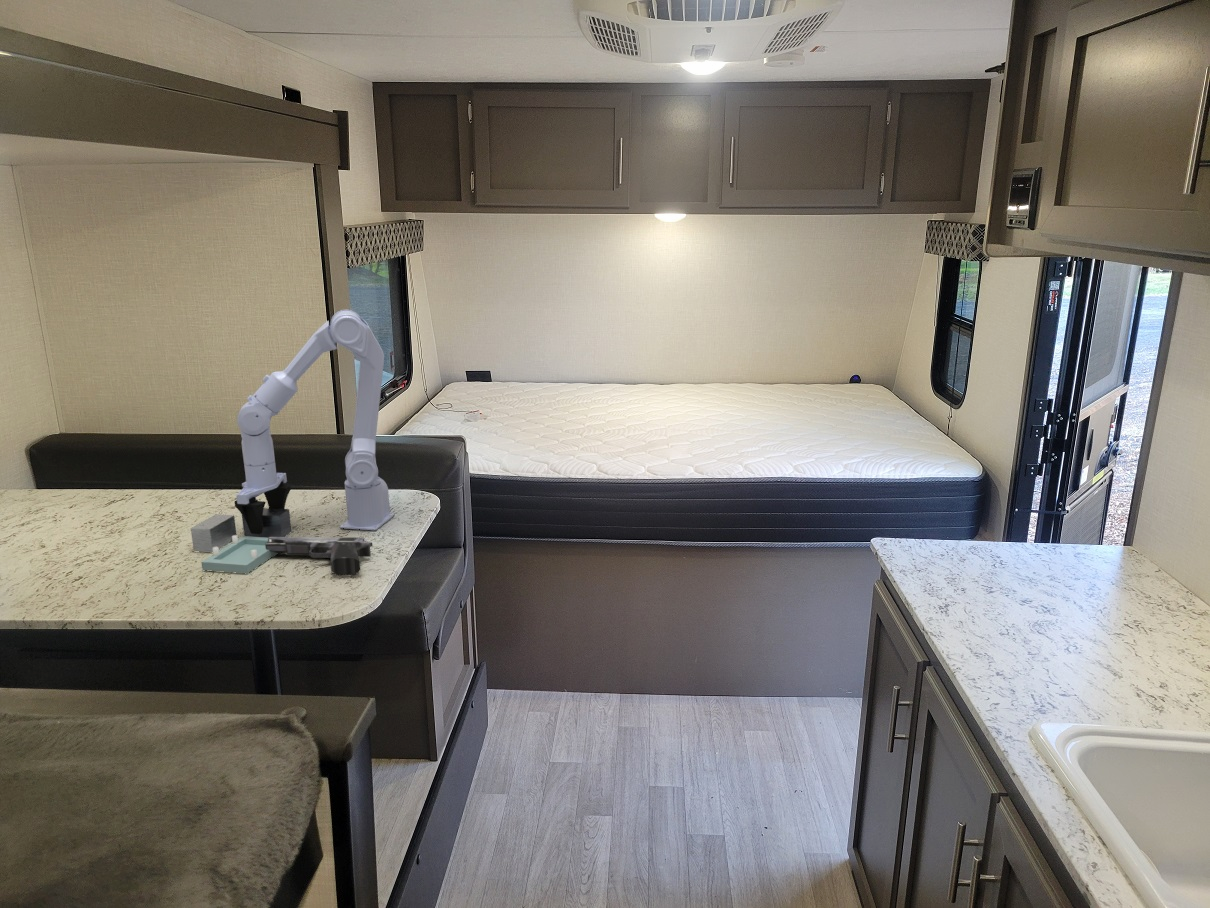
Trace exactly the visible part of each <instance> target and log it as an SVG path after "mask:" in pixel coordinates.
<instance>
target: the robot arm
mask: <svg viewBox="0 0 1210 908" xmlns="http://www.w3.org/2000/svg"><path fill="white" fill-rule="evenodd" d="M338 345H339V346H341V347H343V348H344V349H346V350H348V351H349V352H351V354H352V355H353V356H354V357H355V358H356V359H357V360H358V361H359V370H358V371H359V372H358V381H357V389H356V400H355V410H354V419H353V430H352V437H351V438H352V439H351V442H350V443H351V444H350V449H349V451H347V454H346V455H345V458H344V465H345V476H346V479H345V481H344V491H345V492H344V493H345V502H346V513H347V514H346V515H347V520H346V521H345V522H344V523H343V524H341V525H340V526H339V528H340V529H343V528H344V529H345V530H359V529H360V530H361V531H378V529H379V528H381V527H382V526H383V525H385V523H387V522H388V521H390V520H391V519H392V518H393V517H394V516H395V513H393V512H391V509H390V496H389V495H390V494H389V487H388V485H387V483H386V481H385V480H384V479H383V478H381V477H380V476H379V469H378V466H377V458H376V441H377V440H376V438H377V431H378V430H377V429H378V419H379V413H380V412H379V411H380V403H381V391H382V385H383V383H382V382H383V376H384V375H383V374H384V365H385V364H384V363H385V353H384V351H383V349H382V347H381V345H380V343H379V341H378V340H377V338H376V337H375V335H374V333H373V331H372V329H371V327H370V326H369V324H368V322H367V321H366V320H365V319H364V318H363V317H362V316H360V315H359V314H358V313H357V312H355V311H353V310H351V309H341V310H338V311H337V312H335V313H334V314H333V315H332V317H331V318H330V322H329V320H327V321H326V322H324V323H323V324H322V325H321V326H320V327H319V328H318V329H317V330H315V332H314V333H313V334H312V335H311V337H310V338H309V339H308V340H307V342H305V344H303V346H302V347H301V349H300V350H299V351H298V353H297V354H296V355H295V356H294V357H293V359H291V361H290V363H289V364H288V365H287V366H286V367H285V368H284V370H280V371H274V372H273V371H272V373H271V374H270V375H269V374H266V375H264V376H263V378H262V381H263V383H262V384H261V386H259V387H258V389H257V390H256V391H255V392H254V393H253V395H252V394H249V395H248V397H247V401H248V402H246V403H244V404H243V405H242V406H241V407H240V410H239V412H238V414H237V417H236V418H237V426H238V428H239V430H240V437H241V450H242V458H243V464H244V465H243V466H244V472H245V473H244V474H245V481H244V482H242V483H241V487H242V489H241V490H240V491H239V492H238V493H236V494H235V495H236V496H235V497H236V499H235V500H234V507H235V508H236V509H237V510H238V511H239V513H240V514H241V516H242V515H243V517H244V519H245V521H246V523H247V525H248V527H249V530H250V532H251V534H261V533H262V530H263V521H262V517H263V509H264V508H265V505H266V503H267V506H268V508H272V509H286V501H287V499H288V496H289V494H290V491H291V489H292V486H291V484H287V482H288V480H287V473H286V472H277V468H276V467H277V466H276V459H275V450H274V441H273V438H272V435H271V434H272V433H271V426H270V425H271V420H272V417H274V416H277V415H279V413H280V411H281V410H282V409H283V408H284V407H285V406H286V405H287V404H288V402H289V401H290V400H292V398H293V397H294V396H295V394H296V393H298V384H297V383H298V380H299V379H301V377H302V376H304V374H305V373H306V372H307V371H308V370H309V368H311V367H312V365H314V363H315V362H316V361H317V360H318V359H319V358H320V357H321V356H322V355H323V354H324V353H328V352H331V351H334V350H338ZM262 494H263V496H264V497H265V499H266V501H260V500H258V499H257V497H259V496H261V495H262Z"/></svg>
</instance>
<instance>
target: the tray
mask: <svg viewBox="0 0 1210 908" xmlns="http://www.w3.org/2000/svg"><path fill="white" fill-rule="evenodd" d="M267 542H268V538H265V537H250V536H244V535H242V536H241V537H238V534H237V535H233V536H232V542H230V543H229V544H227V545H225V546H224V547H222V548H221V549H218V547H213V548H212V549H213V553H212V554H211V555H210V556H208V557H207V558H206V559H204V560H202V561H201V569H202V570H201V571H203V570H212V571H224V572H236V573H246V574H245V575H249V574H250V573H249V572H250V571H252V570H253V569H255V568H256V567H258V566H259V565H260V564H262V563H263V564H265V563H266V562H268V561H269V560H271V559H272V558H274V557H275V556H276V555H277V553H275V552H272V551H269V550H267V549H266V547H265V544H266V543H267ZM269 542H271V539H269ZM274 555H275V556H274ZM271 557H272V558H271ZM270 558H271V559H270ZM268 559H269V560H268ZM267 560H268V561H267ZM265 561H266V562H265ZM264 562H265V563H264ZM263 564H262V565H263ZM259 567H260V566H259ZM259 567H258V568H259ZM256 569H257V568H256ZM256 569H255V570H256ZM253 571H254V570H253ZM253 571H252V572H253ZM248 573H249V574H248Z"/></svg>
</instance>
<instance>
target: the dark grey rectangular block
mask: <svg viewBox="0 0 1210 908" xmlns="http://www.w3.org/2000/svg"><path fill="white" fill-rule="evenodd" d="M241 518H242V519H241V520H242V529H243V536H250V537H265V538H269V537H287V536H288V535H289V534H291V533H292V532H291V531H292V525H291V524H292V522H291V521H292V520H291V514H290V509H289V508H285V509H272V508H269V507H267V508H265V507H264V509H263V517H262V521H263V530H262V533H261V534H251V532H250V530H249V527H248V525H247V523H246V521H245V519H244V517H243V515H242V514H241ZM290 532H291V533H290ZM286 535H287V536H286Z"/></svg>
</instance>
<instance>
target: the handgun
mask: <svg viewBox="0 0 1210 908" xmlns="http://www.w3.org/2000/svg"><path fill="white" fill-rule="evenodd" d="M269 539H271V542H269ZM265 547H266V549H267V550H269V551H272V552H275V553H278V554H283V555H284V554H285V555H286V556H310V557H311V558H315V559H316V558H319V559H320V558H324V559H326V558H327V559H329V558H330V569H331V570H330V571H331V573H332V574H333V573H334V574H335V575H337V576H356V575H357V574H358V573H359V572H360V571H361V562H360V557H361V558H363V557H364V558H365V557H367V558H368V557H370V558H371V555H372V554H371V547H373V542H372V541H367V540H365V537H364V536H363V537H361V536H360V537H353V536H352V537H348V536H347V537H345V536H344V537H343V536H341V537H340V536H334V537H333V536H332V537H331V536H327V537H326V536H285V537H269V538H268V542H267V543H266V544H265Z"/></svg>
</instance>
